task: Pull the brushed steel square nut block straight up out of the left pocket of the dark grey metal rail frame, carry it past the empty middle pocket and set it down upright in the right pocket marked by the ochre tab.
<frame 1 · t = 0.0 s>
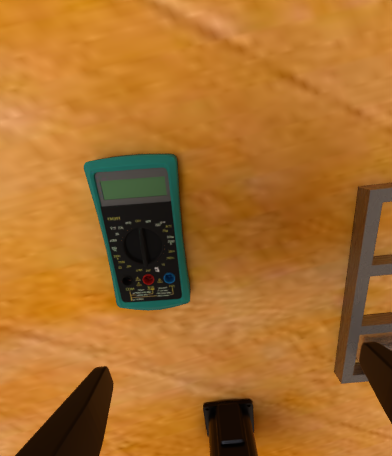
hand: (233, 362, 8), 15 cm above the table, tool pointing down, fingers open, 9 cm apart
digital multimeter: (147, 231, 23), on the table
nut block: (374, 342, 27), resting in rail frame
rail frame: (385, 290, 25), on the table
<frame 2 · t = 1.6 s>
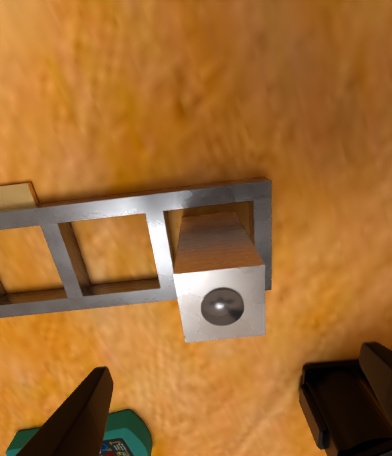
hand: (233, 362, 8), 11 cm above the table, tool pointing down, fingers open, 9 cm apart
digital multimeter: (88, 432, 28), on the table
nut block: (210, 238, 18), resting in rail frame
rail frame: (118, 248, 18), on the table
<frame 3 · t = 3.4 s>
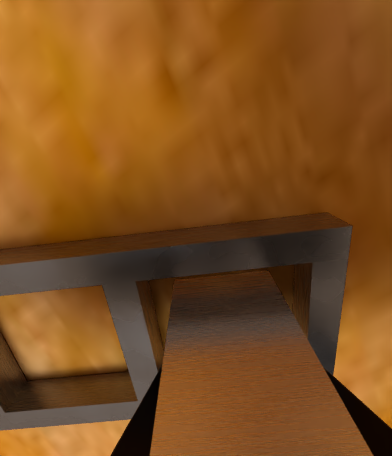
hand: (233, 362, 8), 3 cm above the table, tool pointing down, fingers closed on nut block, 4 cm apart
nut block: (224, 312, 11), resting in rail frame, touching gripper
rail frame: (66, 328, 11), on the table
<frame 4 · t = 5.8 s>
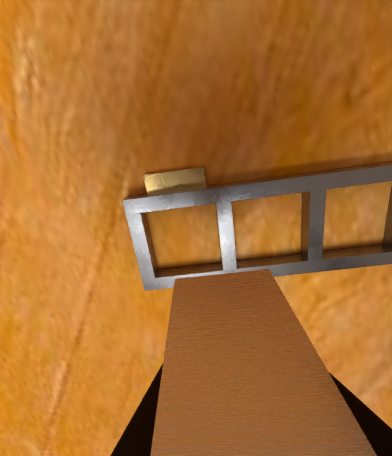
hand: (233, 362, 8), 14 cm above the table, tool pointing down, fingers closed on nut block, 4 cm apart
nut block: (224, 311, 11), point 11 cm above the table, touching gripper
rail frame: (266, 226, 21), on the table
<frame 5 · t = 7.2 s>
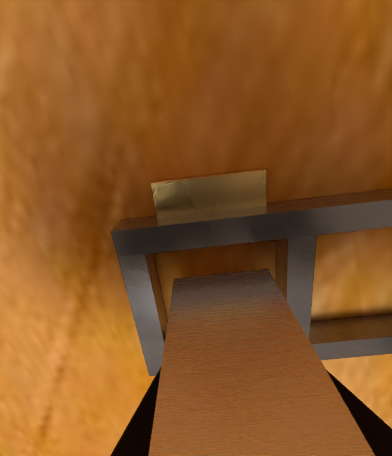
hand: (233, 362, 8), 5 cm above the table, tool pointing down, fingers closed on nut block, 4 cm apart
nut block: (224, 311, 11), point 2 cm above the table, touching gripper
rail frame: (357, 271, 12), on the table
when the fingers open (3 cm above the table, at t = 8.1 s): nut block stays where it is, resting in rail frame.
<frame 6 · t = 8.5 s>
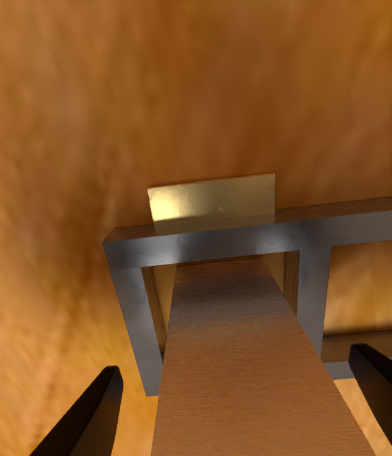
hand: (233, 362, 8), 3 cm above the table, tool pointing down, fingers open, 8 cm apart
nut block: (222, 297, 12), resting in rail frame
rail frame: (373, 283, 11), on the table
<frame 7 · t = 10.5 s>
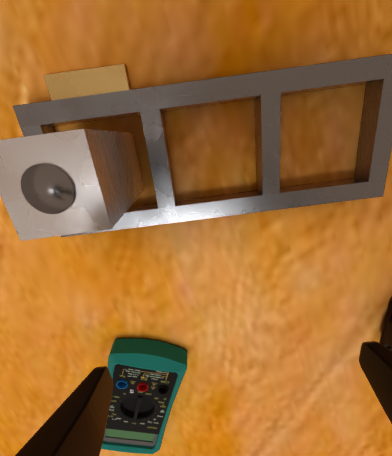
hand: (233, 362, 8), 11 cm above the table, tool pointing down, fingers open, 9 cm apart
digital multimeter: (141, 384, 26), on the table
nut block: (111, 166, 17), resting in rail frame
rail frame: (212, 153, 17), on the table
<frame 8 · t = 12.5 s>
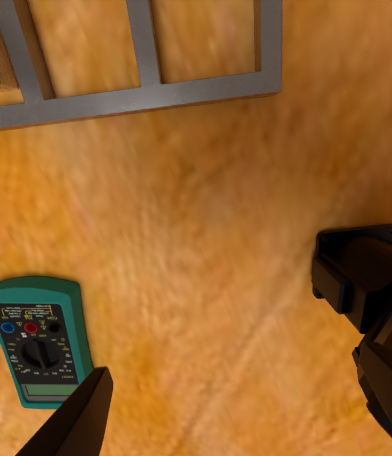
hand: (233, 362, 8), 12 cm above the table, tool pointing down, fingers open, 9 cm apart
digital multimeter: (57, 335, 24), on the table
rail frame: (88, 42, 15), on the table
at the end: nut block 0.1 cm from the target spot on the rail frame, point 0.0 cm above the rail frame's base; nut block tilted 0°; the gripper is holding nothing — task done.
